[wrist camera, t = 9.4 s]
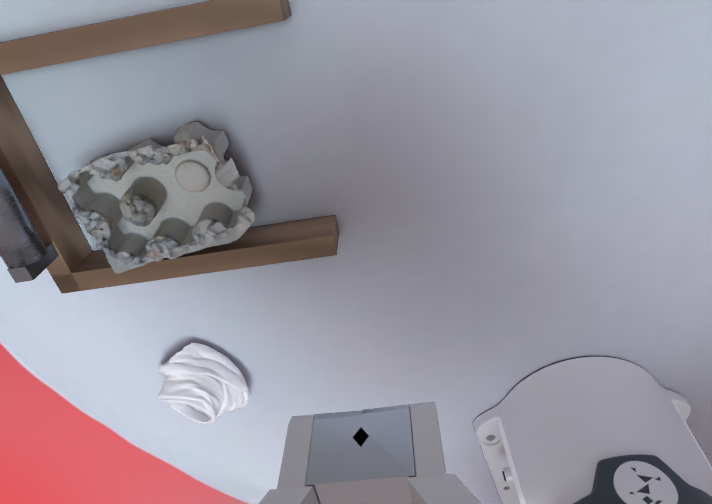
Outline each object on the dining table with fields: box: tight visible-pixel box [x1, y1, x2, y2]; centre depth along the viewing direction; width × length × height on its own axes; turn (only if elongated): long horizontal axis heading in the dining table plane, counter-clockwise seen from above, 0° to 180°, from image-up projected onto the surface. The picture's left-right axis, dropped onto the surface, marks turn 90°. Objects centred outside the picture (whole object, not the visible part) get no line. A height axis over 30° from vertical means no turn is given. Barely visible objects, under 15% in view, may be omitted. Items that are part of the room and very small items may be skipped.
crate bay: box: [0, 0, 339, 293], centre depth 31 cm, size 16×20×3 cm
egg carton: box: [58, 122, 255, 273], centre depth 31 cm, size 11×8×4 cm
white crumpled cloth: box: [157, 343, 249, 424], centre depth 41 cm, size 8×7×5 cm
